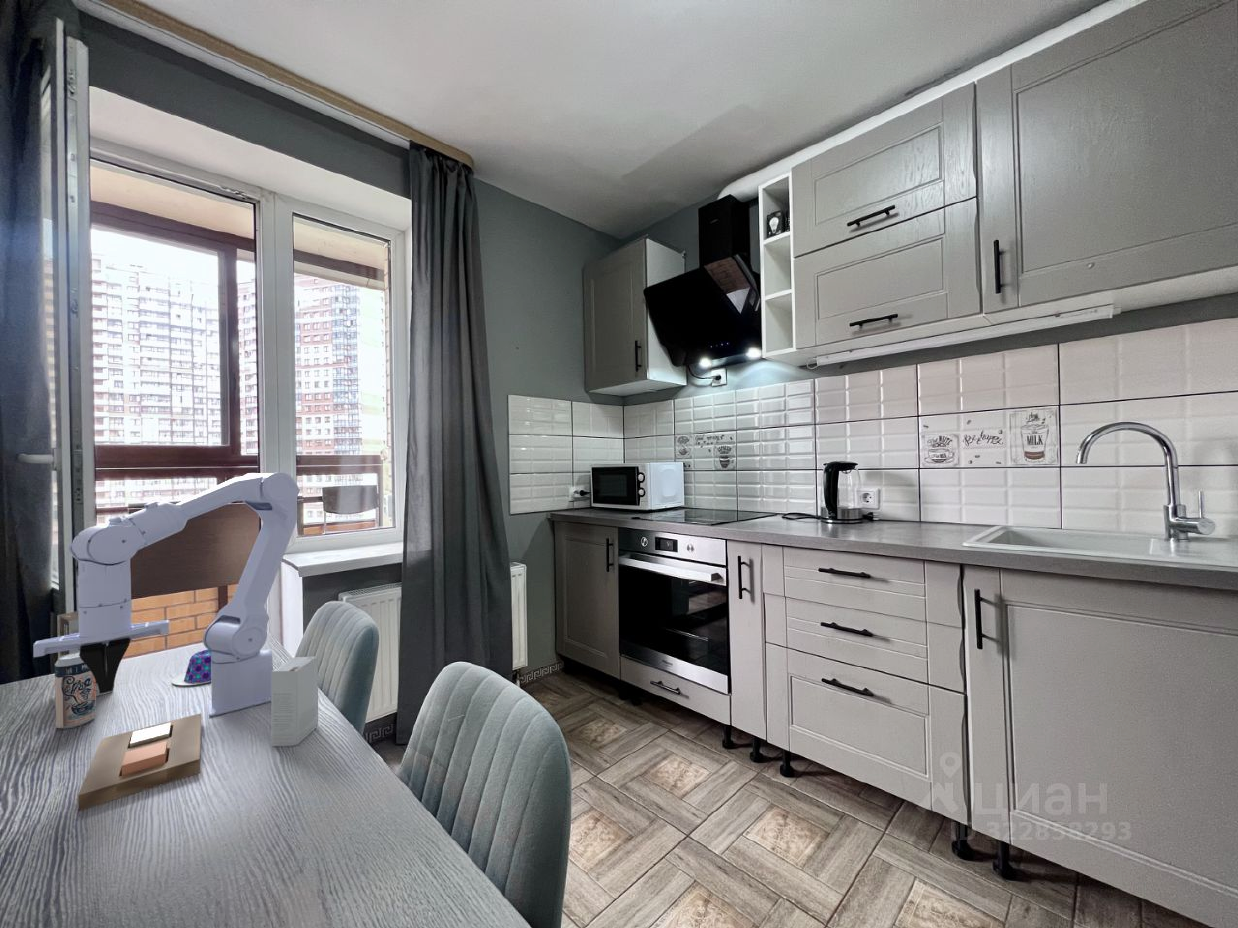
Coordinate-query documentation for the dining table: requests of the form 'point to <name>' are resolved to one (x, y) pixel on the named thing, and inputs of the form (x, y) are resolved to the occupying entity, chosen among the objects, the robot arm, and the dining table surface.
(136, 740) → the metal button
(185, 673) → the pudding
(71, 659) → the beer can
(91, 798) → the button board
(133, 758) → the terracotta button
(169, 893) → the dining table surface
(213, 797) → the dining table surface
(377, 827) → the dining table surface
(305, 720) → the skincare box
